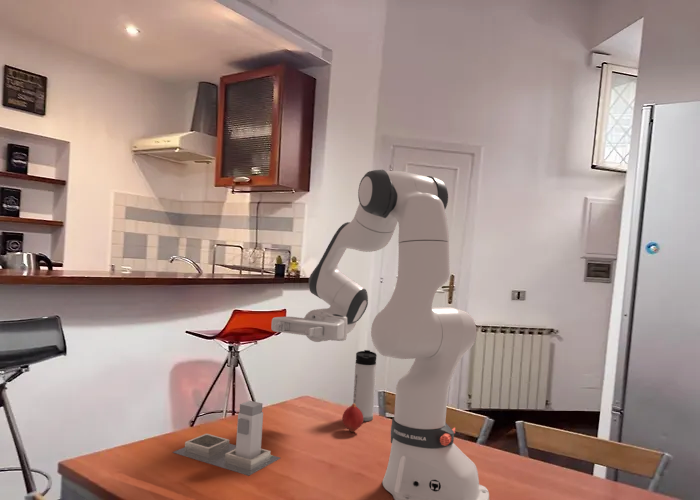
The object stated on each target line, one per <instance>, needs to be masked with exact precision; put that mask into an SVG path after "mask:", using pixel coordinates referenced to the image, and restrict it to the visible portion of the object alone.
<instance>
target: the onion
mask: <svg viewBox="0 0 700 500" xmlns="http://www.w3.org/2000/svg"><path fill="white" fill-rule="evenodd" d="M342 424H343V425H344V427H345V428H346V429H347V430H348V431H349V432H351V433H354V432H355V431H357V430H358V429H359V428H361V427H362V425H363V424H364V421H363V414H362V412H361V410H360V409H359V408H358V407H356V404H355V403H353V402H352V405H350V406H349V407H347V408H346V409H345V410H344V412H343V414H342Z"/></svg>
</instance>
